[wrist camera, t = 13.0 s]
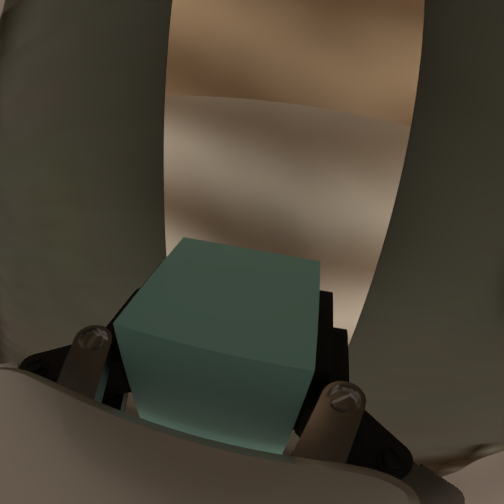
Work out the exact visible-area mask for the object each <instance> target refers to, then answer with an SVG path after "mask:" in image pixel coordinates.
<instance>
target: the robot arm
mask: <svg viewBox="0 0 504 504" xmlns="http://www.w3.org/2000/svg"><path fill="white" fill-rule="evenodd" d="M159 266H160V265H159ZM159 266H158V267H159ZM154 272H155V271H154ZM154 272H153V273H154ZM149 278H150V277H149ZM149 278H148V279H149ZM145 283H146V282H145ZM145 283H144V284H145ZM140 289H141V288H139V289H137V290H136V291H135V292H134V293H133V294H132V296H131V297H130V298H129V299H128V300H127V302H126V303H125V304H124V305H123V307H122V308H121V309H120V310H119V312H118V313H117V314H116V315H115V317H114V318H113V319H112V320H111V322H110V323H109V324H108V325H107V327H104V326H99V325H92V326H88V327H85V328H83V329H82V330H80V331H79V332H78V333H77V335H76V336H75V338H74V341H73V343H72V345H69V346H65V347H61V348H57V349H53V350H49V351H46V352H42V353H38V354H34V355H31V356H29V357H27V358H26V359H24V361H23V362H22V363H21V365H19V363H18V362H13V363H6V364H0V504H465V499H464V496H463V493H462V492H461V491H460V490H459V489H458V488H457V487H455V486H454V485H452V484H451V483H449V482H447V481H446V480H445V479H443V478H442V477H440V476H439V475H437V474H436V473H434V472H433V471H431V470H430V469H428V468H427V467H425V466H424V465H423V464H420V465H419V466H418V465H417V464H416V463H414V462H413V457H412V455H411V452H410V451H409V450H408V449H407V447H406V446H404V445H403V444H402V443H401V442H400V441H399V440H398V439H396V438H395V437H394V436H393V435H392V434H391V433H390V432H389V431H388V430H386V429H385V428H384V427H383V426H382V425H381V424H380V423H379V422H378V421H376V420H375V419H374V418H373V417H372V416H371V415H370V414H369V413H368V412H367V411H365V410H364V409H365V406H366V398H365V394H364V393H363V391H362V390H361V389H360V388H359V387H358V386H357V385H355V384H353V383H351V382H349V357H348V333H347V329H342V328H336V327H333V292H329V291H323V290H320V293H319V314H318V332H317V347H316V361H315V371H314V374H313V377H312V380H311V383H310V385H309V388H308V391H307V393H306V396H305V399H304V401H303V404H302V407H301V409H300V412H299V414H298V417H297V419H296V422H295V424H294V427H293V429H292V430H295V433H296V434H297V435H298V436H299V437H300V439H299V441H298V443H297V445H296V447H295V449H294V450H293V452H292V454H291V456H287V455H281V454H275V453H270V452H264V451H259V450H254V449H249V448H244V447H240V446H235V445H231V444H226V443H222V442H218V441H214V440H210V439H206V438H203V437H199V436H195V435H192V434H188V433H185V432H181V431H178V430H175V429H172V428H168V427H165V426H162V425H159V424H156V423H153V422H150V421H147V420H144V419H142V418H139V417H136V416H133V415H131V414H128V413H125V409H126V404H127V399H128V393H129V392H131V388H130V385H129V382H128V378H127V375H126V372H125V368H124V364H123V361H122V357H121V353H120V350H119V346H118V342H117V338H116V334H115V329H114V325H113V323H114V321H115V320H116V319H117V318H118V316H119V315H120V314H121V312H122V311H123V310H124V309H125V307H126V306H127V305H128V304H129V302H130V301H131V300H132V299H133V297H134V296H135V295H136V294H137V292H138V291H139V290H140Z"/></svg>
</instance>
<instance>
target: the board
mask: <svg viewBox="0 0 504 504" xmlns="http://www.w3.org/2000/svg"><path fill="white" fill-rule="evenodd" d="M424 3H425V0H173V1H172V10H171V20H170V30H169V42H168V55H167V70H166V88H165V114H164V210H165V237H166V256H168V255H169V254H170V253H171V251H172V250H173V249H174V248H175V247H176V245H177V244H178V243H179V242H180V241H181V240H182V238H183V237H186V238H192V239H198V240H204V241H209V242H215V243H221V244H226V245H232V246H237V247H243V248H249V249H254V250H260V251H266V252H271V253H277V254H283V255H288V256H294V257H299V258H305V259H311V260H316V261H321V265H320V290H323V291H329V292H333V327H336V328H342V329H347V333H348V345H349V343H350V340H351V338H352V335H353V332H354V330H355V327H356V324H357V322H358V319H359V316H360V313H361V311H362V308H363V305H364V302H365V299H366V296H367V294H368V291H369V288H370V285H371V282H372V279H373V275H374V272H375V269H376V266H377V263H378V260H379V256H380V253H381V250H382V246H383V243H384V239H385V236H386V232H387V229H388V225H389V222H390V218H391V214H392V210H393V206H394V202H395V198H396V194H397V190H398V186H399V182H400V177H401V173H402V169H403V164H404V159H405V154H406V150H407V145H408V139H409V134H410V129H411V123H412V117H413V111H414V105H415V98H416V91H417V84H418V76H419V68H420V59H421V49H422V37H423V23H424Z"/></svg>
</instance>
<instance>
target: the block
mask: <svg viewBox="0 0 504 504" xmlns="http://www.w3.org/2000/svg"><path fill="white" fill-rule="evenodd" d="M320 265H321V261H316V260H311V259H305V258H299V257H294V256H288V255H283V254H277V253H271V252H266V251H260V250H254V249H249V248H243V247H237V246H232V245H226V244H221V243H215V242H209V241H204V240H198V239H192V238H186V237H183V238H182V240H181V241H180V242H179V243H178V244H177V245H176V247H175V248H174V249H173V250H172V251H171V253H170V254H169V255H168V256H167V257H166V258H165V260H164V261H163V262H162V263H161V264H160V266H159V267H158V268H157V269H156V270H155V272H154V273H153V274H152V275H151V276H150V278H149V279H148V280H147V281H146V283H145V284H144V285H143V286H142V287H141V289H140V290H139V291H138V292H137V294H136V295H135V296H134V297H133V299H132V300H131V301H130V302H129V304H128V305H127V306H126V307H125V309H124V310H123V311H122V312H121V314H120V315H119V316H118V318H117V319H116V320H115V321H114V323H113V325H114V329H115V334H116V338H117V342H118V346H119V350H120V353H121V357H122V361H123V364H124V368H125V372H126V375H127V378H128V382H129V385H130V388H131V392H132V395H133V398H134V401H135V404H136V407H137V410H138V413H139V416H140V418H142V419H144V420H147V421H150V422H153V423H156V424H159V425H162V426H165V427H168V428H172V429H175V430H178V431H181V432H185V433H188V434H192V435H195V436H199V437H203V438H206V439H210V440H214V441H218V442H222V443H226V444H231V445H235V446H240V447H244V448H249V449H254V450H259V451H264V452H270V453H275V454H281V455H282V453H283V451H284V448H285V446H286V444H287V441H288V439H289V437H290V434H291V432H292V429H293V427H294V424H295V422H296V419H297V417H298V414H299V412H300V409H301V407H302V404H303V401H304V399H305V396H306V393H307V391H308V388H309V385H310V383H311V380H312V377H313V374H314V371H315V361H316V347H317V332H318V314H319V293H320Z"/></svg>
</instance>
